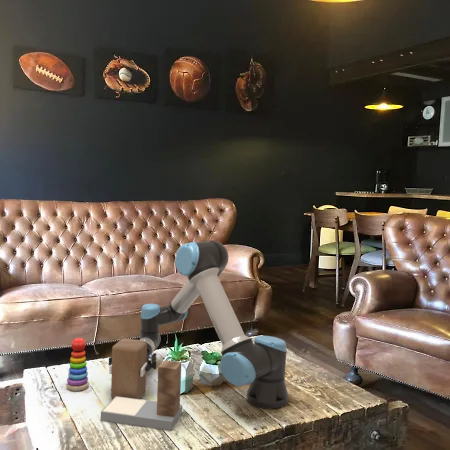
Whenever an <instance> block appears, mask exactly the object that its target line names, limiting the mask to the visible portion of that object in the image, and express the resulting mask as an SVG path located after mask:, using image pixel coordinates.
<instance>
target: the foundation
mask: <svg viewBox="0 0 450 450" xmlns="http://www.w3.org/2000/svg"><path fill="white" fill-rule="evenodd" d="M182 414H183V405H182V404H180V409H179V411H178V413H177V414H176V416H175V417H169V416H161V415H157V400H156V401H154V400H149V399H147V400H146V399H141V398H140V399H133V398H126V397H118V396H115V397H114V399H113V400H112V399H111V400H110V401H109V403H108V404H107V405H106V406H105V407H103V409H102V410H100V422H101V421H102V422H108V423H115V424H121V425H122V424H123V425H130V426H136V427H143V428H151V429H155V430H163V431H170V432H172V430H173V429H174V427H175V426H176V424H177V422H178V421H179V419H180V417H181V415H182Z"/></svg>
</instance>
